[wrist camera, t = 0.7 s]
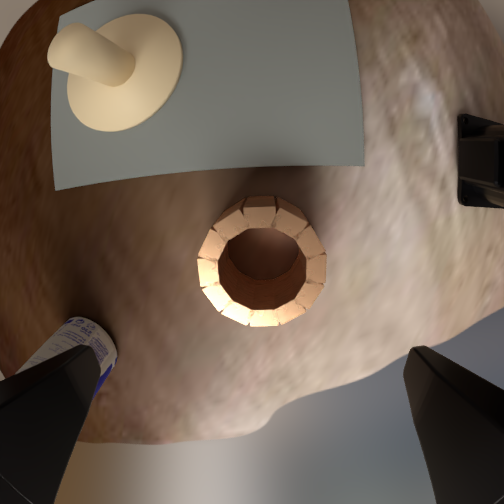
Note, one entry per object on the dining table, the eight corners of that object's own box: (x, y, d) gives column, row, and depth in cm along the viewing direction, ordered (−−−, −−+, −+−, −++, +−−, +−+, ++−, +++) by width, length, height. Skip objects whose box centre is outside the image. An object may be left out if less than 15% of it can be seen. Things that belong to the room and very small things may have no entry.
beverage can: (57, 315, 21) (-48, 423, 7) (104, 311, 21) (-10, 451, 7) (82, 365, 23) (3, 479, 9) (129, 367, 22) (53, 508, 8)
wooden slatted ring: (314, 194, 17) (327, 205, 13) (313, 291, 19) (322, 323, 15) (208, 198, 18) (192, 210, 14) (217, 294, 20) (206, 326, 16)
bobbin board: (337, -23, 12) (362, -83, 5) (358, 165, 17) (412, 173, 10) (68, 20, 13) (11, -7, 7) (65, 188, 18) (-6, 208, 11)
